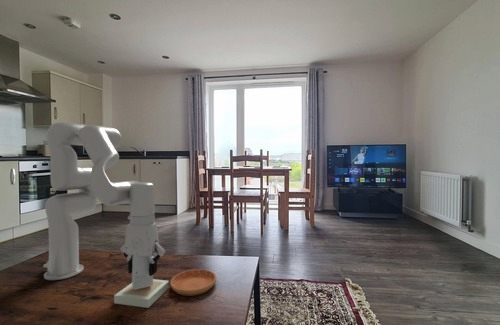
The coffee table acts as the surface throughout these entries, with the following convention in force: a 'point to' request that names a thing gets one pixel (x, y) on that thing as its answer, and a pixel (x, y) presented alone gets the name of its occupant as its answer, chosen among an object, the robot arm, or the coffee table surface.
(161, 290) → the picture frame
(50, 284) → the coffee table surface
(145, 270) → the skincare box
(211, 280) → the saucer
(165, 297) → the coffee table surface
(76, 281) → the coffee table surface
